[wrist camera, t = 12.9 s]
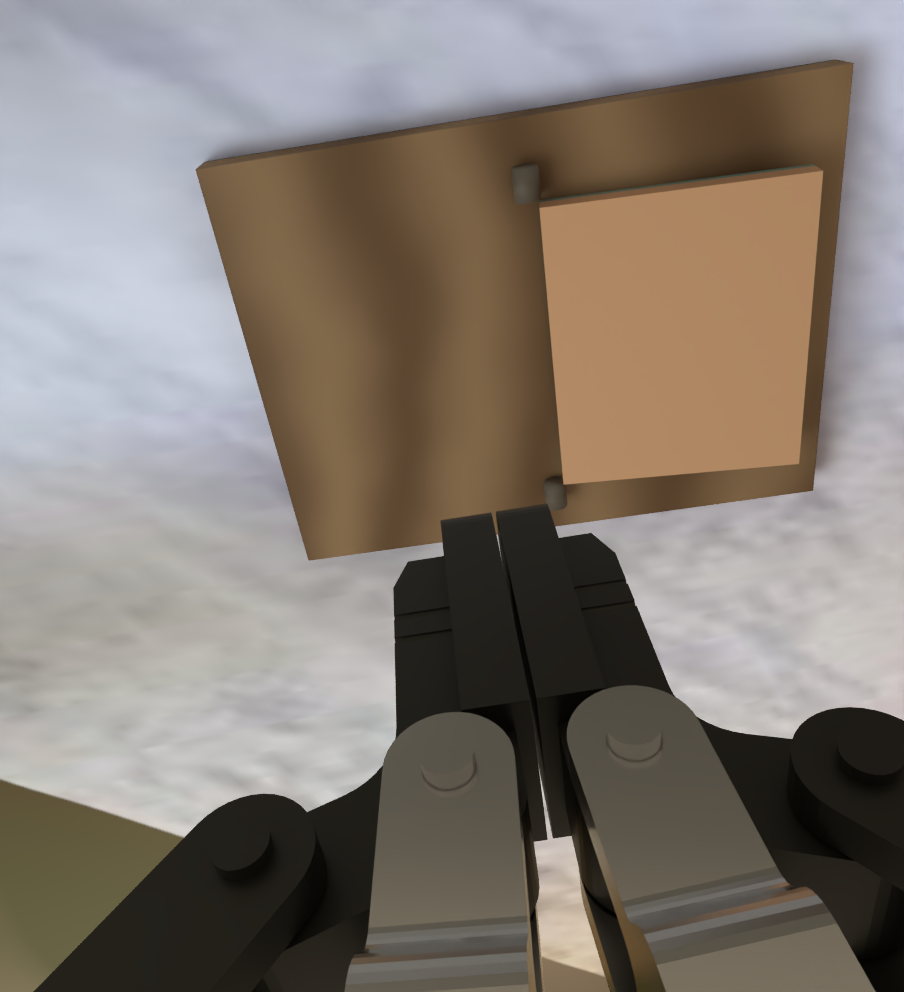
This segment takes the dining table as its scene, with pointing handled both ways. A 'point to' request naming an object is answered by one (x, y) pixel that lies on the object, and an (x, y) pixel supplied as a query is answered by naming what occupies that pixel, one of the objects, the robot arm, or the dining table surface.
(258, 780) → the dining table surface
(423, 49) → the dining table surface
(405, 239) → the board
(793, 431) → the tile
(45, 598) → the dining table surface
